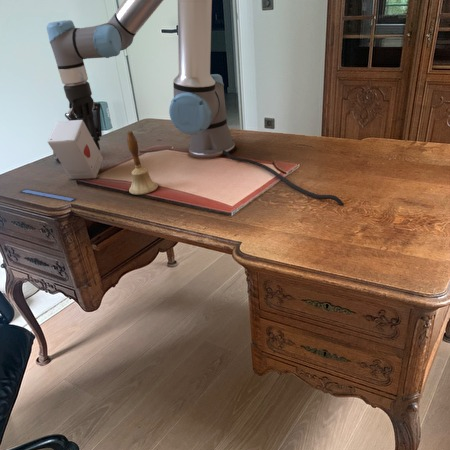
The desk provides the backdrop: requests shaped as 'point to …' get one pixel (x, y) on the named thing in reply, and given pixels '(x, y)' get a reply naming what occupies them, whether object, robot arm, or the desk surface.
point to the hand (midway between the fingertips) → (97, 161)
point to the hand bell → (139, 171)
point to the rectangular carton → (75, 149)
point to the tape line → (48, 195)
